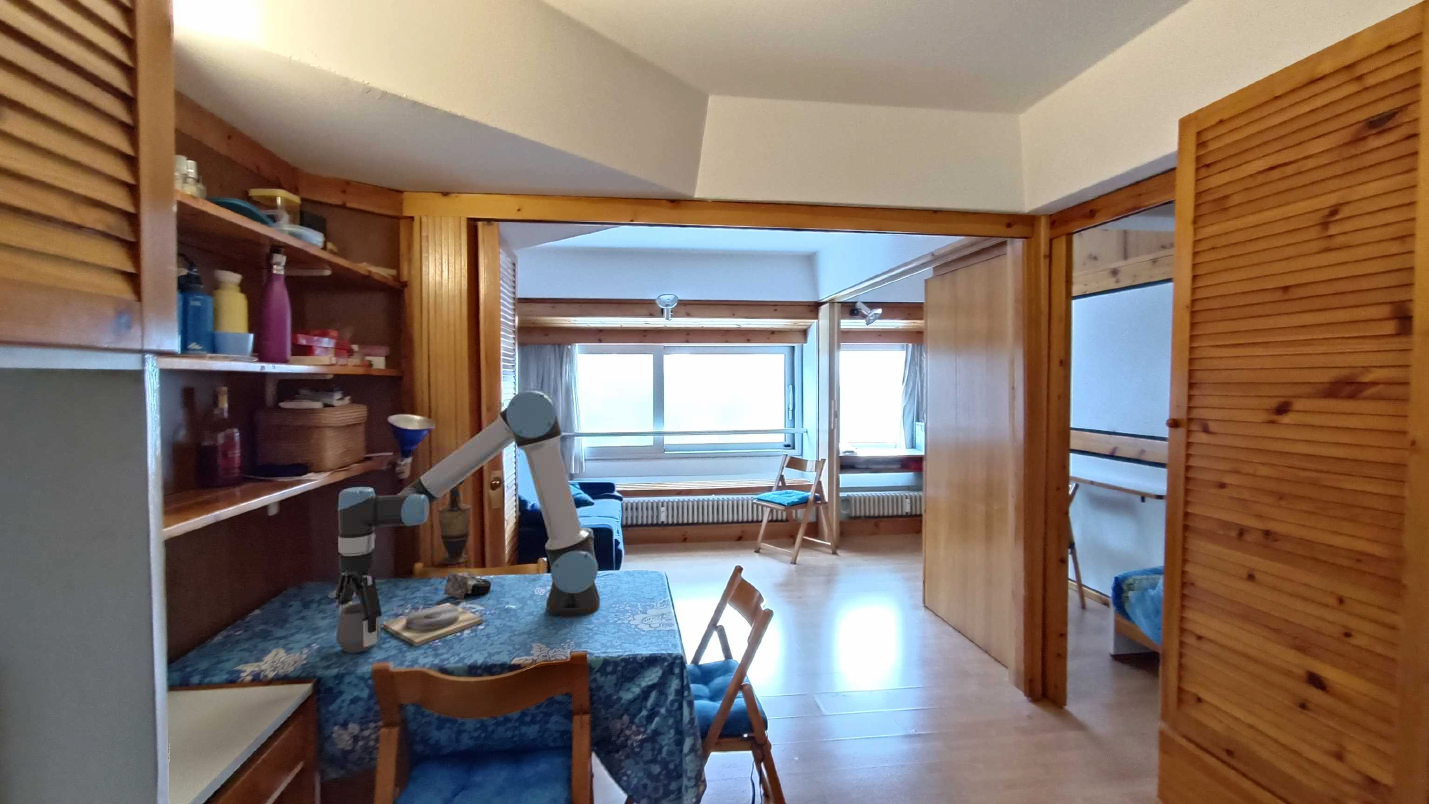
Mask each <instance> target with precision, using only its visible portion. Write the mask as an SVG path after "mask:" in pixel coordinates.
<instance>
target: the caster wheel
mask: <svg viewBox="0 0 1429 804" xmlns="http://www.w3.org/2000/svg"><path fill="white" fill-rule="evenodd" d="M491 588H492V582H491V581H489V580H487V579H484V578H480V577H476V576H475V575H474V574H473V573H472V572H470V571H469V572H468V571H463V572H459V573H453V572H450V571H449V572H448V575H447V578H446V582H445V586H444V589H443V595H446V596H449V597H453V598H456V599H459V600H464V598H465V594H471V595H472V594H475V595H485V594H488V593H489V592H491V591H490V590H491Z"/></svg>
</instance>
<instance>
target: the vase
mask: <svg viewBox="0 0 1429 804" xmlns="http://www.w3.org/2000/svg"><path fill="white" fill-rule="evenodd" d="M465 480H466V478H465V479H464V480H462V481H461V482H460V483H458V484H457V485H456V486H454V487H453V488H452V489H450V490H449V499H448V503H447V504H446V505H442V506H443V507H442V506H440V507H438V509H437V511H438V513H437V514H438V522H439V531H440V538H441V541H442V545H443V546H444V548H445V550H446V552H447V554H448V555H447V556H444V557H443V558H442V563H443V564H445V565H458V564H462V563H464V562H467V561H468V559H469V556H468V555H466V554H463V553H464V551H465V548H466V547H467V546H466V545H467V544H468V540H469V535H470V530H471V529H470V525H471V509H472V507H471V505H470V504H466V503H463V502H462V501H461V495H460V493H461V491H460V490H461V486H462V485H463V483H464V482H465ZM462 554H463V555H462Z"/></svg>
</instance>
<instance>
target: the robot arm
mask: <svg viewBox="0 0 1429 804" xmlns="http://www.w3.org/2000/svg"><path fill="white" fill-rule="evenodd" d="M562 435H563V434H562V430H561V427H560V423H559V420H558V416H557V411H556V407H555V403H554V400H553V399H552V397H551V396H550V395H549V394H547V392H545V391H542V390H540V389H536V388H535V389H534V388H533V389H526V390H524V391H523V390H522V391H521V392H518V393H516V394H515V395H514V396H513V397H511V400H510V401H509V403H508V405H507V407H506V408H504V409H503V410H502V411H500V412H499V413H498V416H497V419H496V420H494V421H493V422H492V423H491V424H489V425H488V426H487V427H485V428H484V429H482V430H481V431H480V432H479V433H478V434H476V435H474V436H473V437H472V438H470V439H469V440H468V441H466V442H465V443H464V444H463V445H461V446H460V447H458V448H457V449H456V450H454V451H453V452H452V453H450V454H449V455H448V456H447V457H445V458H444V459H443V460H442V461H440V462H438V463H437V464H436V465H434V466H433V467H432V468H430V469H429V470H427V471H426V472H425V473H424V474H422V475H421V476H420V477H419V478H417V479H416V480H415V481H413V482H412V483H411V484H409V485H407V486H405V487H404V488H402V490H401V491H400V492H398V493H397V494H396V495H395V494H392V495H391V494H390V495H376V493H375V490H374V488H373V487H370V486H366V487H365V486H357V487H349V488H345V489H343V490H341V491H340V492H339V494H338V504H337V505H338V507H337V514H338V515H337V516H338V539H337V540H338V545H337V546H338V553H340V554H339V555H338V568H339V578H338V583H337V587H336V591H335V595H334V599H335V600H336V601H337V603H338V604H339V612H340V611H341V610H342V609H343V608H345V607H347V606H350V605H353V603H354V602H353V601H354V598H353V596H354V595H356V596H358V599H359V602H360V603H361V606H362V609H363V612H364V616H365V617H364V618H363V620H362V621H363V640H364V647H367V646H370V645H373V644H374V645H375V644H378V638H377V617H382V616H383V615H382V614H383V613H382V609H381V604H380V600H379V596H378V591H377V586H376V575H374V574H373V575H370V574H369V569H370V568H372V567H374V566H375V564H376V552H375V550H374V548H375V539H376V538H377V534H375V528H376V527H377V528H379V527H401V526H402V527H404V526H407V527H412V526H418V525H424V524H426V522H427V520H428V517H429V512H430V506H431V505H432V504H433V503H435V502H437V501H438V500H439V499H440V498H441V497H443V496H444V495H445V494H447V492H450V489H452V488H453V487H454V486H456V485H457V484H458V483H460V482H461V481H462V480H464V479H465V480H466V479H467V478H468V477H469V476H470V475H472V474H474V472H475V471H477V470H478V469H480V468H481V467H482V466H484V465H485V464H486V463H487V462H489V461H490V460H491V459H493V458H494V457H496V456H497V455H499V454H500V453H501V452H502V451H504V450H505V449H506V448H508V447H509V446H510V445H511V444H513V443H514V442H515V446H516V448H517V449H519V450H522V451H523V452H524V455H525V458H526V461H527V462H526V463H527V464H528V468H529V471H530V475H531V479H532V482H533V486H534V490H535V493H536V497H537V501H538V504H539V507H540V511H541V515H542V518H543V521H544V525H545V528H546V533H547V536H548V539H547V542H546V543H545V545H544V547H545V551H546V555H547V558H548V561H549V567H550V576H551V579H552V580H551V581H552V582H551V586H550V588H549V593H548V596H547V599H546V601H545V602H546V605H545V610H546V612H547V613H548V615H551V616H554V617H558V618H576V617H577V618H578V617H582V616H587V615H590V614H592V613H594V612H596V611H597V610H598V609H599V608H600V606H601V600H600V595H599V591H598V589H597V585H596V583H595V581H596V579H597V577H598V571H599V563H598V561H597V558H596V553H595V550H594V549H595V548H594V539H595V536H594V531H593V529H592V528H589V527H583V526H581V522H580V518H579V515H578V512H577V508H576V504H575V501H574V500H575V499H574V495H573V494H572V490H571V486H570V482H569V478H568V475H567V472H566V468H565V464H564V461H563V458H562V453H561V450H560V446H559V440H560V439H561V437H563V436H562ZM465 480H464V481H465ZM374 645H373V646H374Z"/></svg>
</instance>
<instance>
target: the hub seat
mask: <svg viewBox="0 0 1429 804" xmlns="http://www.w3.org/2000/svg"><path fill="white" fill-rule="evenodd" d="M483 621H484V620H483V617H481V616H478V615H476V614H474V613H472V612H469V611H467V610H464V609H463V608H460V607H458V606H456V605H454V604H451V603H449V602H447V603H443V604H440V605H437V606H430V607H427V608H422V609H419V610H416V611H415V612H413V613H411V614H407V615H405V616H401V617H398V618H394V619H393V620H388V621H385V622H383V623H382V628H383V629H384V630H386V631H388V632H390V633H392V634H394V635H395V636H397V637H399V638H401V639H402V640H404V641H405V642H407V643H409V644H411V645H413V646H415V647H419V646H422V645H425V644H426V643H429V642H432V641H435V640H437V639H440V638H443V637H446V636H449V635H452V634H455V633H457V632H461V631H464V630H465V629H469V628H472V627H474V626H475V627H476V626H478V625H480V624H482V623H483Z"/></svg>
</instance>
